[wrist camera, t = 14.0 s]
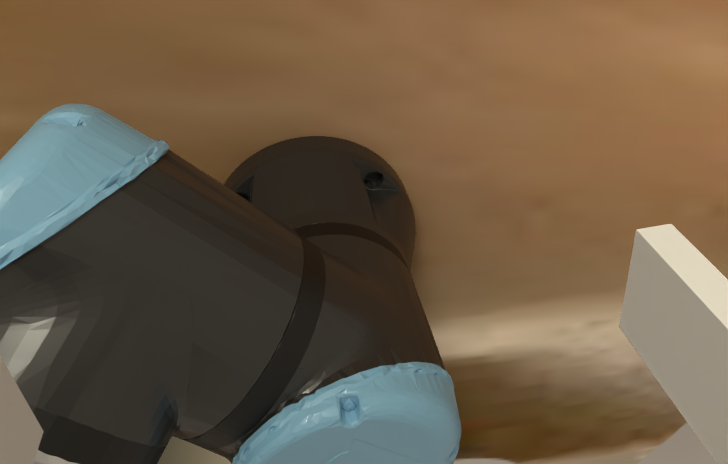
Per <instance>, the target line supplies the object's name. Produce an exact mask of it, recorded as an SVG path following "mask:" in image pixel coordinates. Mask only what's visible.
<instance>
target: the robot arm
mask: <svg viewBox="0 0 728 464" xmlns="http://www.w3.org/2000/svg"><path fill="white" fill-rule="evenodd" d="M169 147H170V146H169V145H168V144H167V143H166V142H165V141H163V140H155V141H154V140H153V139H151V138H149V137H147V136H146V135H144V134H142V133H140V132H139V131H137V130H135V129H134V128H132V127H130V126H128V125H127V124H125V123H123V122H122V121H120V120H118V119H116V118H115V117H113V116H111V115H110V114H108V113H106V112H104V111H103V110H101V109H98V108H96V107H94V106H90V105H86V104H66V105H62V106H59V107H56V108H54V109H52V110H50V111H49V112H47V113H46V114H44V115H43V116H42V117H41V118H40V119H39V120H38V121H37V122H36V123H35V124H34V125H33V126H32V127H31V128H30V129H29V130H28V131H27V132H26V133H25V134H24V135H23V136H22V137H21V138H20V140H19V141H18V142H17V143H16V144H15V145H14V146H13V147H12V148H11V149H10V150H9V151H8V152H7V153H6V154H5V156H4V157H3V158H2V159H1V160H0V464H157V463H158V461H159V459H160V457H161V455H162V453H163V451H164V449H165V448H166V446H167V444H168V442H169V440H170V439H171V437H172V436H174V437H177V438H179V439H183V440H185V441H188V442H190V443H192V444H195V445H197V446H200V447H202V448H204V449H207V450H209V451H212V452H214V453H217V454H219V455H221V456H223V457H225V458H227V459H228V460H229V461H230V462H231V463H232V464H453V463H454V461H455V458H456V456H457V453H458V450H459V442H460V437H461V422H460V418H459V413H458V408H457V404H456V399H455V394H454V384H453V382H452V379H451V376H450V375H449V374H448V372H447V371H446V370H445V367H444V365H443V362H442V359H441V356H440V354H439V351H438V348H437V345H436V343H435V340H434V337H433V334H432V331H431V329H430V326H429V323H428V320H427V318H426V315H425V312H424V309H423V307H422V304H421V301H420V298H419V296H418V293H417V290H416V287H415V285H414V282H413V279H412V277H411V274H410V268H411V261H412V255H413V248H414V242H415V218H414V213H413V209H412V205H411V202H410V200H409V197H408V195H407V193H406V190H405V188H404V186H403V184H402V181H401V180H400V178H399V177H398V175H397V174H396V172H395V171H394V170H393V169H392V167H391V166H390V165H389V164H388V163H387V162H386V161H385V160H383V159H382V158H381V157H380V156H378V155H377V154H376V153H374V152H373V151H371V150H369V149H367V148H365V147H363V146H361V145H359V144H356V143H354V142H351V141H347V140H343V139H339V138H333V137H324V136H310V137H300V138H294V139H289V140H286V141H282V142H279V143H276V144H274V145H271V146H269V147H267V148H265V149H263V150H261V151H259V152H257V153H256V154H254V155H252V156H251V157H250V158H248V159H247V160H246V161H244V162H243V163H242V164H241V165H240V166H239V167H238V168H237V169H236V170H235V171H234V172H233V173H232V174H231V175H230V177H229V178H228V179H227V181H226V182H225V184H224V185H223V184H221V183H220V182H218V181H217V180H215V179H214V178H212V177H210V176H209V175H207V174H206V173H204V172H203V171H201V170H200V169H198V168H196V167H195V166H193V165H192V164H190V163H189V162H187V161H186V160H184V159H183V158H181V157H179V156H178V155H176V154H175V153H173V152H172V151H170V150H169ZM619 328H620V329H621V330H622V332H623V333H624V335H625V336H626V337H627V339H628V340H629V342H630V343H631V344H632V346H633V347H634V349H635V350H636V351H637V353H638V354H639V356H640V357H641V358H642V360H643V361H644V363H645V364H646V365H647V367H648V368H649V370H650V371H651V372H652V374H653V375H654V377H655V378H656V379H657V381H658V382H659V383H660V385H661V386H662V388H663V389H664V390H665V392H666V393H667V395H668V396H669V397H670V399H671V400H672V402H673V403H674V404H675V406H676V407H677V409H678V410H679V411H680V413H681V414H682V416H683V417H684V418H685V420H686V421H687V423H688V424H689V425H690V427H691V428H692V430H693V431H694V432H695V434H696V435H697V437H698V438H699V439H700V441H701V442H702V444H703V445H704V446H705V448H706V449H707V450H708V452H709V453H710V455H711V456H712V458H713V459H714V460H715V462H716V463H717V464H728V279H726V278H725V277H724V276H723V275H722V274H721V273H720V272H719V271H718V270H717V269H716V268H715V267H714V266H713V265H712V264H711V263H710V262H709V261H708V260H707V259H706V258H705V257H704V256H703V255H702V254H701V253H700V252H699V251H698V250H697V249H696V248H695V247H694V246H693V245H692V244H691V243H690V242H689V241H688V240H687V239H686V238H685V237H684V236H683V235H682V234H681V233H680V232H679V231H678V230H677V229H676V228H675V227H674V226H673V225H672V224H667V225H661V226H655V227H649V228H643V229H637V230H636V234H635V240H634V246H633V251H632V257H631V262H630V268H629V274H628V279H627V285H626V291H625V296H624V302H623V307H622V313H621V319H620V324H619Z"/></svg>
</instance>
